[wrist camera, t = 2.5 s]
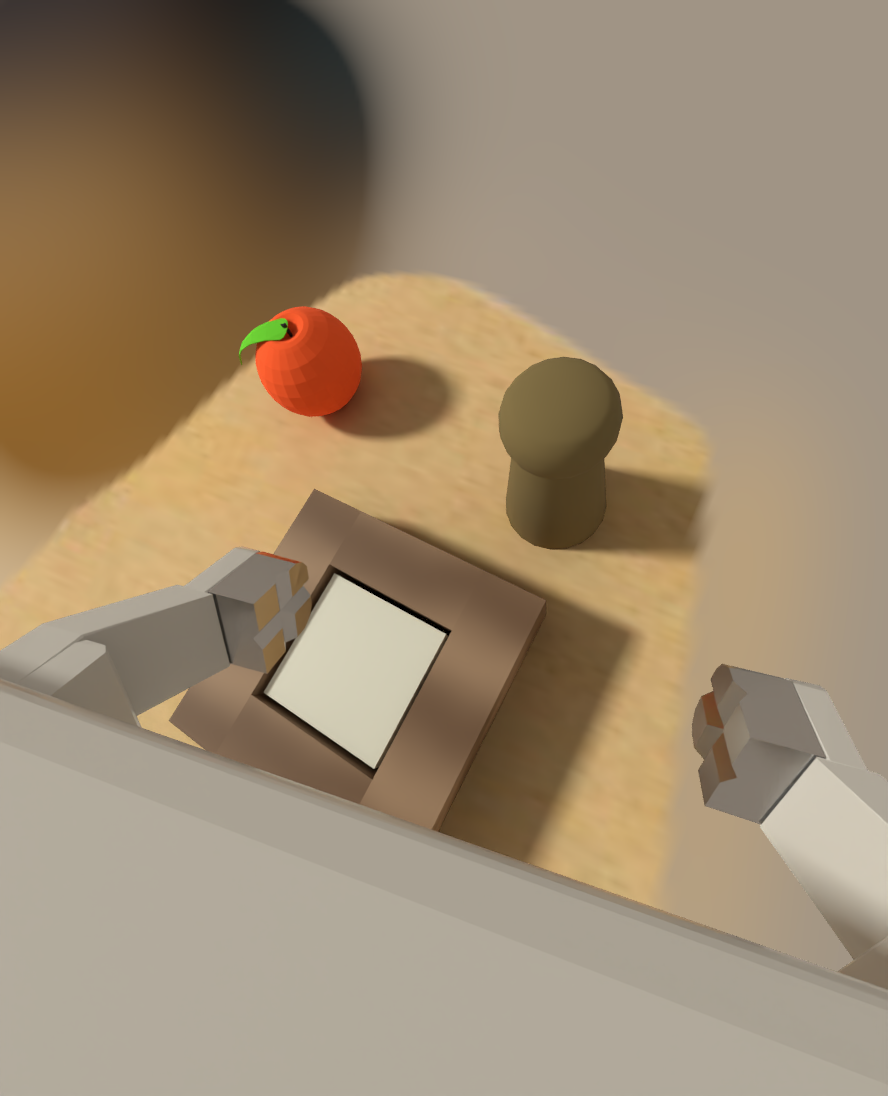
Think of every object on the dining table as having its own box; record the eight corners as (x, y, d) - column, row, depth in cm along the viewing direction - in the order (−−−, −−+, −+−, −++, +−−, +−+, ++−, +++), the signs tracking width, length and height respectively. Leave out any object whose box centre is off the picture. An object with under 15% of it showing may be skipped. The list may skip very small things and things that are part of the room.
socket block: (419, 869, 24) (396, 900, 21) (216, 718, 29) (168, 720, 26) (546, 614, 27) (546, 600, 23) (341, 513, 32) (314, 488, 28)
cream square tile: (380, 766, 24) (374, 768, 23) (273, 692, 26) (263, 692, 25) (449, 636, 25) (446, 634, 24) (341, 577, 28) (334, 573, 27)
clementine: (272, 443, 35) (209, 383, 28) (279, 366, 37) (221, 293, 30) (375, 428, 34) (333, 361, 27) (376, 348, 36) (337, 268, 29)
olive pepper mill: (621, 477, 29) (664, 353, 18) (582, 565, 28) (604, 484, 17) (529, 446, 31) (521, 318, 20) (489, 526, 29) (459, 434, 19)
